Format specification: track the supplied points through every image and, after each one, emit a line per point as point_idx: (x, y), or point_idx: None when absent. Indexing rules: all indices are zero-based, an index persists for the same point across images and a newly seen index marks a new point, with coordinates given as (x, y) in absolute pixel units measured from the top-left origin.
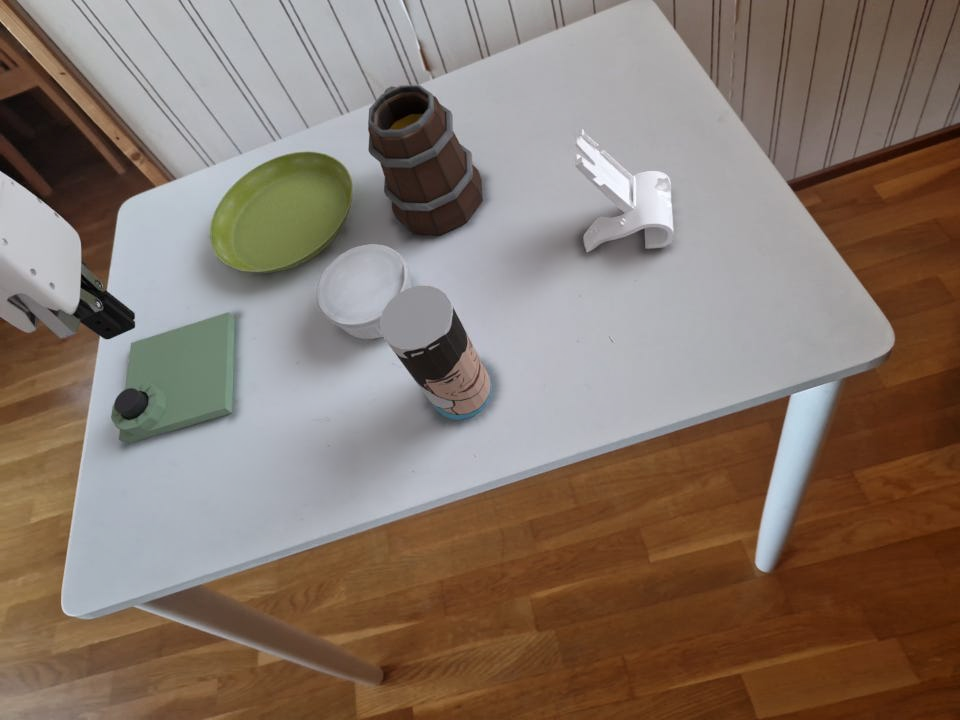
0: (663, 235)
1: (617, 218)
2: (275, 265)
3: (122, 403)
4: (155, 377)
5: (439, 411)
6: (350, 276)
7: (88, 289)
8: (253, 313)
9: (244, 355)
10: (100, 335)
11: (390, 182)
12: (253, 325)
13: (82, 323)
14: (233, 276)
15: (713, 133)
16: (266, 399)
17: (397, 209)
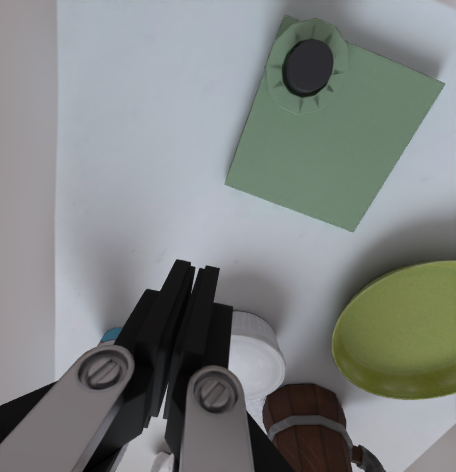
0: (160, 462)
1: None
2: (369, 292)
3: (309, 57)
4: (343, 107)
5: (111, 333)
6: (251, 367)
7: (176, 457)
8: (334, 246)
9: (288, 218)
10: (173, 268)
11: (313, 441)
12: (319, 241)
13: (151, 310)
14: (410, 245)
15: None
16: (217, 220)
17: (307, 403)
